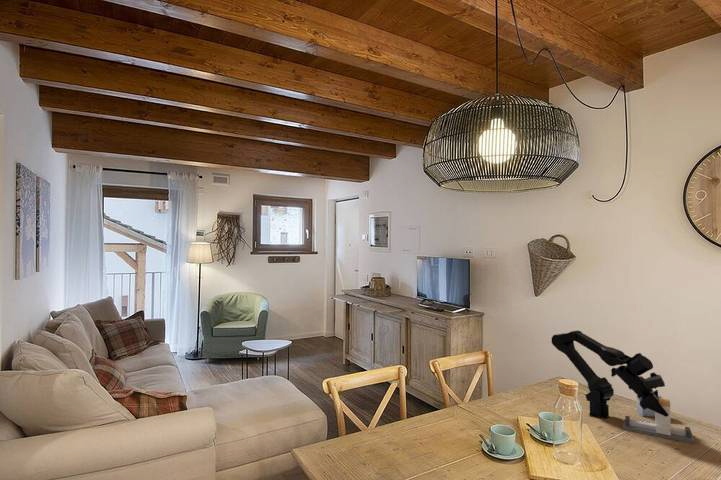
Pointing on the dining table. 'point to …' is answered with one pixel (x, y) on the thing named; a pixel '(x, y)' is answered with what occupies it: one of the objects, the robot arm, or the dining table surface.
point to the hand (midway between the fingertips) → (667, 413)
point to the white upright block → (663, 418)
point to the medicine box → (645, 411)
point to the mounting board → (651, 430)
